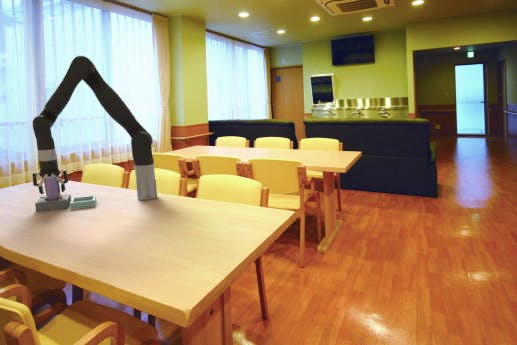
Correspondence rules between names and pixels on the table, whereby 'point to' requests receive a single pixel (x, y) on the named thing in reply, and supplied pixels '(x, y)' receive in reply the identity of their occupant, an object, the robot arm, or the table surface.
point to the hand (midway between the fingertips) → (52, 193)
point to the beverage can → (52, 188)
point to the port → (53, 203)
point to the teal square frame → (83, 202)
